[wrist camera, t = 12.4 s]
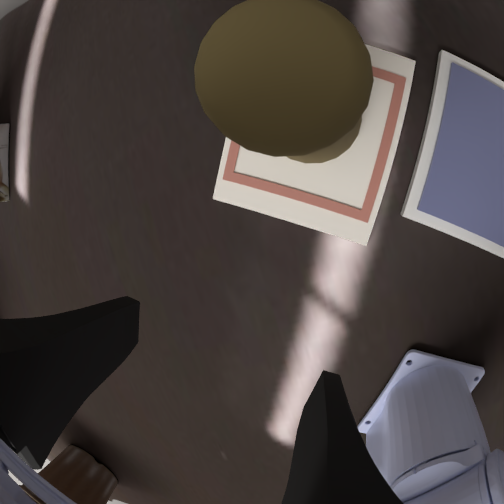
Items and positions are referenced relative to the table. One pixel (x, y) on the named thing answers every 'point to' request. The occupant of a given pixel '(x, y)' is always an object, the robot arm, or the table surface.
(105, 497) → the plant pot
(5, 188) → the coffee box
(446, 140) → the ink pad
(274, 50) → the cork
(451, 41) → the table surface
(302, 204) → the marked board
